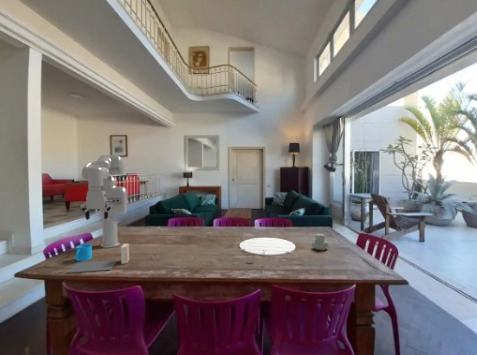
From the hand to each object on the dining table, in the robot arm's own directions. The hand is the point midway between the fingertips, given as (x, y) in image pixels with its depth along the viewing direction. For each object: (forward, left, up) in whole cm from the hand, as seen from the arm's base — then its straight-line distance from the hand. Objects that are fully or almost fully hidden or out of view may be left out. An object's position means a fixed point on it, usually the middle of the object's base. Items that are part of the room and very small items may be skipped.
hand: (97, 219), depth 154 cm
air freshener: (-7, +139, -28) cm, 142 cm away
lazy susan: (-19, +105, -28) cm, 111 cm away
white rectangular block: (-6, +13, -28) cm, 31 cm away
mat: (0, -3, -28) cm, 28 cm away
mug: (-14, -14, -28) cm, 34 cm away
